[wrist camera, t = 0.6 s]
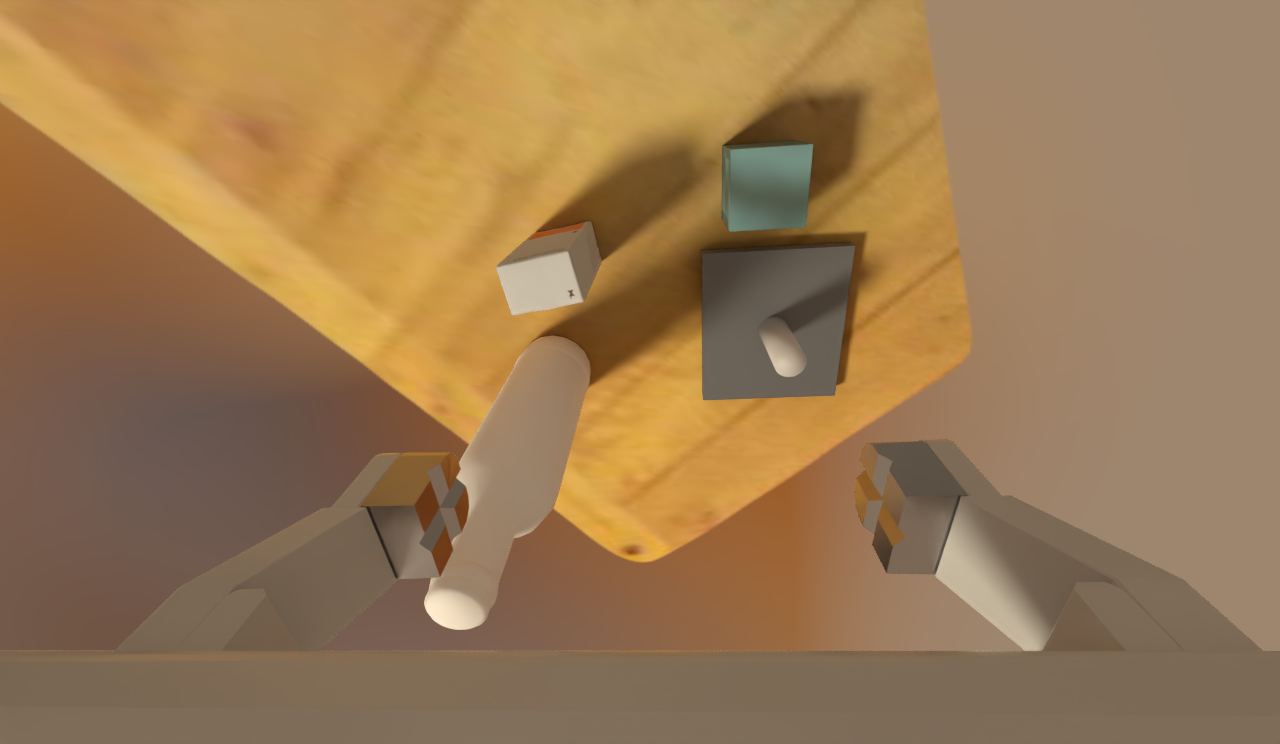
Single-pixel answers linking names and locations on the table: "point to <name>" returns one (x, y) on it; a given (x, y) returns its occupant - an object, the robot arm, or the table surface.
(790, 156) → the sage green cube
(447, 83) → the table surface
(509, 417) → the bottle
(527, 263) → the skincare box
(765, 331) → the post block
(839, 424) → the table surface
